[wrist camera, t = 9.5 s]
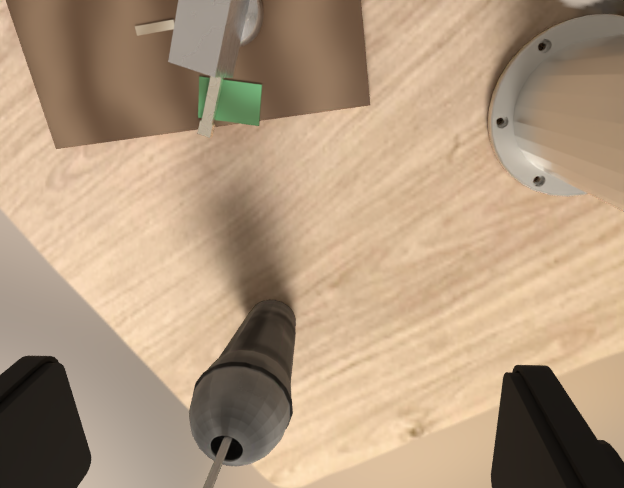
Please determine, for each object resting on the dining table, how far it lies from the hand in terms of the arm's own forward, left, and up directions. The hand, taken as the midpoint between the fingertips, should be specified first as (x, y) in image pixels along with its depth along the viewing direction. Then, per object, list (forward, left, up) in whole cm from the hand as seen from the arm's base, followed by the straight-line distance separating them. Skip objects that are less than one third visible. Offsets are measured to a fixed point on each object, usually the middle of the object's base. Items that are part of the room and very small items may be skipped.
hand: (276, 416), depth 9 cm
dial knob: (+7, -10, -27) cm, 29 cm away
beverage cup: (+8, +14, -28) cm, 33 cm away
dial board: (+10, -12, -28) cm, 32 cm away
